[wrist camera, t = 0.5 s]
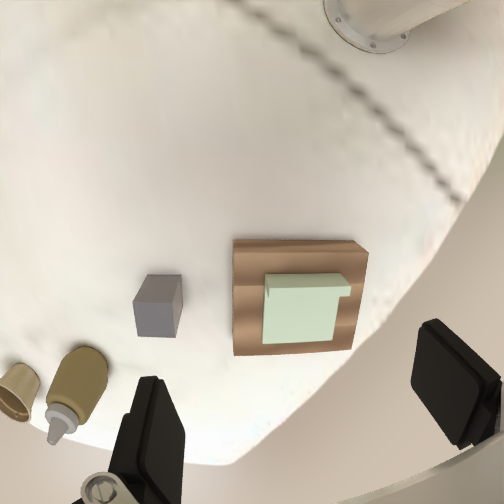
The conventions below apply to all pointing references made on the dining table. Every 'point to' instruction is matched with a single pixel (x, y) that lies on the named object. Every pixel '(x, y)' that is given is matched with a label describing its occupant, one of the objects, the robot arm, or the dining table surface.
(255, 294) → the socket
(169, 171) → the dining table surface
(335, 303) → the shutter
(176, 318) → the plug
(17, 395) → the flower pot
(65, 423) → the squeeze bottle
